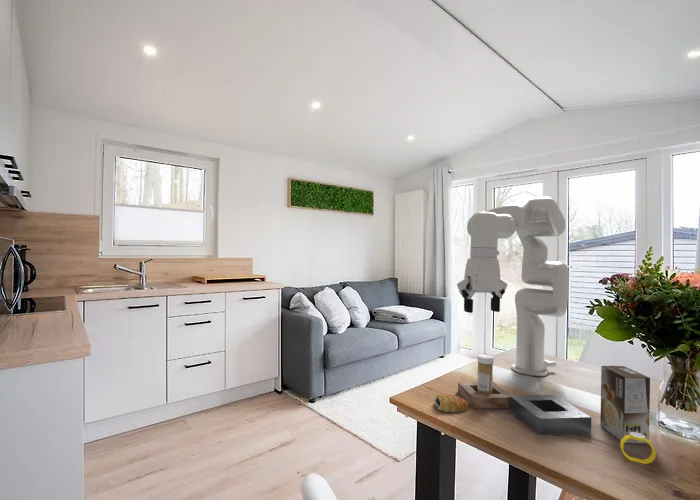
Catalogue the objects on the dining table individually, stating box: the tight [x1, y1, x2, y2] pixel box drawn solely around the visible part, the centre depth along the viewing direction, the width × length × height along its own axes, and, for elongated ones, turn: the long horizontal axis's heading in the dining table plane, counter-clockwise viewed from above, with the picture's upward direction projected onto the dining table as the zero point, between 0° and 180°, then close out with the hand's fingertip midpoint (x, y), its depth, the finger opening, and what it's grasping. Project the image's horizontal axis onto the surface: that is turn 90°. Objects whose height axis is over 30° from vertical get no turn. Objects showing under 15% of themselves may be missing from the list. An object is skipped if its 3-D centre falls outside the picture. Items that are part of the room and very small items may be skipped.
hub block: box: [508, 394, 593, 435], centre depth 97 cm, size 14×14×4 cm
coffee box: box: [599, 365, 651, 445], centre depth 90 cm, size 9×6×16 cm
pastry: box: [434, 393, 470, 414], centre depth 104 cm, size 9×7×4 cm
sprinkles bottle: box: [476, 353, 494, 394], centre depth 110 cm, size 5×5×14 cm
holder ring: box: [457, 381, 511, 409], centre depth 110 cm, size 12×12×3 cm
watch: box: [619, 432, 657, 465], centre depth 79 cm, size 6×3×6 cm, turn 62°
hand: (481, 311), depth 106 cm, fingers open, 9 cm apart
